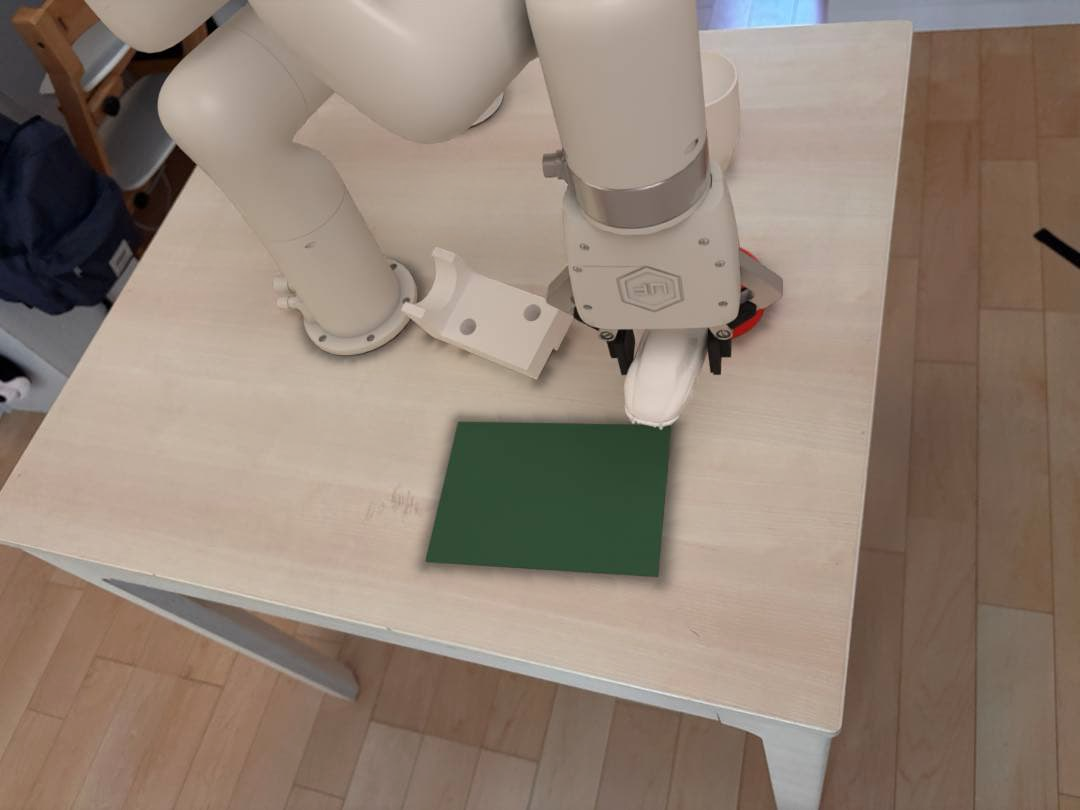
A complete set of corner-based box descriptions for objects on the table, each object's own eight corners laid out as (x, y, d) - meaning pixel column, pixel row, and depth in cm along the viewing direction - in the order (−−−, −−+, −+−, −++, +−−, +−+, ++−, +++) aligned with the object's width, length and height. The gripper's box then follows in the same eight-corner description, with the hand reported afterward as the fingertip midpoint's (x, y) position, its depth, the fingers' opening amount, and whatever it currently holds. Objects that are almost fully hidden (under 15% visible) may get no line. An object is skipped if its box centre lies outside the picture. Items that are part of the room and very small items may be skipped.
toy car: (728, 303, 64) (726, 272, 61) (682, 439, 59) (677, 413, 56) (665, 294, 66) (660, 263, 63) (615, 425, 61) (607, 398, 58)
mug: (726, 207, 89) (720, 113, 79) (646, 195, 92) (630, 103, 82) (760, 130, 94) (758, 32, 84) (683, 121, 97) (672, 26, 87)
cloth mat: (426, 562, 75) (425, 560, 74) (459, 423, 82) (458, 421, 82) (658, 577, 69) (657, 575, 69) (671, 426, 76) (671, 425, 76)
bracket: (437, 340, 89) (400, 310, 82) (468, 281, 90) (435, 246, 83) (540, 383, 83) (510, 354, 77) (573, 319, 84) (546, 285, 78)
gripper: (476, 225, 47) (548, 402, 62) (805, 208, 43) (798, 403, 57) (500, 131, 51) (562, 319, 66) (804, 106, 47) (797, 314, 61)
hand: (672, 356), depth 62 cm, fingers closed on toy car, 5 cm apart
